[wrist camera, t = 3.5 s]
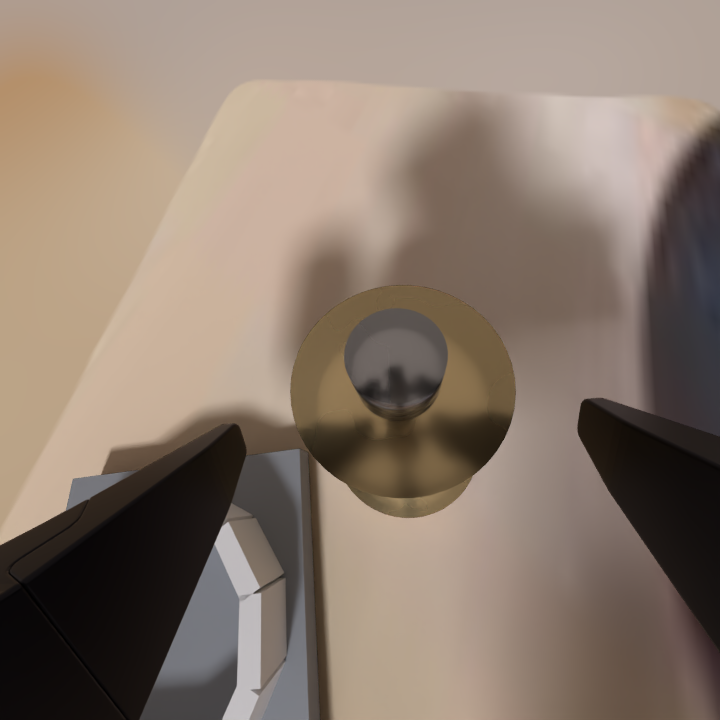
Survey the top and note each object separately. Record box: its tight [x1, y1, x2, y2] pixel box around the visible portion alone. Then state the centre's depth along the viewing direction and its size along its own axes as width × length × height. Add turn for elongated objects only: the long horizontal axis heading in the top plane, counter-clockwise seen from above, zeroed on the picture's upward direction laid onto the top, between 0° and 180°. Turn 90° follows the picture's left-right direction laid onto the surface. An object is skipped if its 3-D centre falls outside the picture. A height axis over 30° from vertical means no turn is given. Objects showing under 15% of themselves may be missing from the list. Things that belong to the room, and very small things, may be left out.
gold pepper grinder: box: [290, 285, 516, 518], centre depth 12 cm, size 7×7×12 cm
